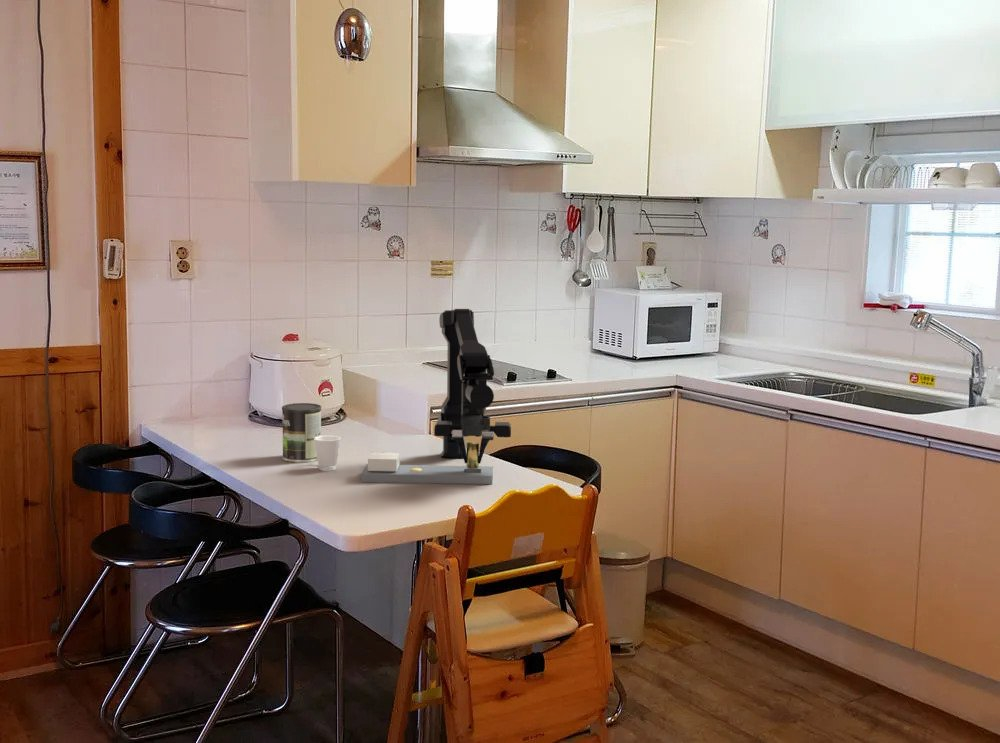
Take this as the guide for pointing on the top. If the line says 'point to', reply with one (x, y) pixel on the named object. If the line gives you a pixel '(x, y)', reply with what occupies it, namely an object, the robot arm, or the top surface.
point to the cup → (327, 451)
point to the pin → (472, 455)
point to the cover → (383, 462)
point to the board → (431, 474)
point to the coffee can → (300, 431)
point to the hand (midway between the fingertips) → (472, 463)
